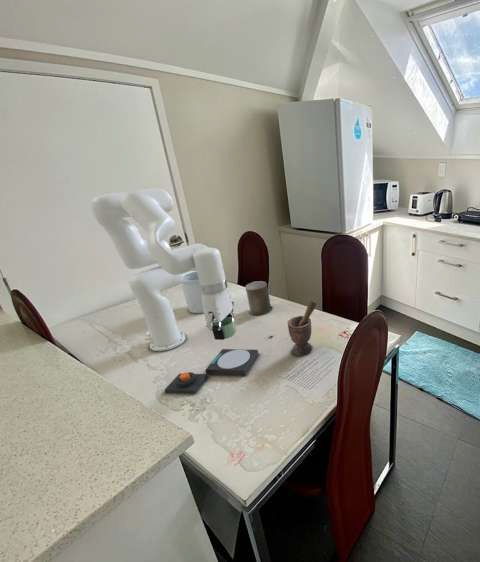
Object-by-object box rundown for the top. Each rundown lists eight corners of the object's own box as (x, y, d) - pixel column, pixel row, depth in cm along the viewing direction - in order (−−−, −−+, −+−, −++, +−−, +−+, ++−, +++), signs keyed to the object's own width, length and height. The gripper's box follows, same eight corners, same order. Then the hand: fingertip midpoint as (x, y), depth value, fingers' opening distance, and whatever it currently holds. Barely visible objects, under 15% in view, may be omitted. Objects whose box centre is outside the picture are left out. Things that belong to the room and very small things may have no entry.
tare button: (178, 381, 103) (177, 377, 103) (184, 375, 106) (182, 372, 105) (187, 381, 103) (185, 378, 102) (192, 376, 106) (190, 372, 105)
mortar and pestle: (307, 337, 130) (302, 295, 122) (323, 344, 126) (319, 300, 118) (287, 352, 121) (280, 307, 113) (303, 359, 117) (297, 313, 109)
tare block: (165, 393, 102) (162, 386, 101) (180, 376, 109) (178, 369, 108) (194, 393, 101) (192, 386, 100) (208, 377, 109) (206, 370, 108)
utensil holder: (211, 297, 166) (203, 267, 159) (226, 304, 158) (219, 273, 151) (182, 308, 156) (173, 276, 149) (197, 317, 147) (188, 283, 140)
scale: (206, 375, 110) (205, 368, 109) (223, 354, 121) (222, 348, 120) (245, 376, 109) (244, 369, 108) (259, 355, 120) (257, 349, 119)
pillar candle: (274, 310, 152) (269, 282, 146) (254, 317, 146) (249, 288, 140) (266, 303, 159) (261, 276, 153) (247, 310, 153) (241, 282, 147)
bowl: (211, 339, 105) (207, 327, 103) (221, 328, 111) (218, 316, 109) (230, 340, 104) (227, 327, 102) (239, 329, 111) (237, 317, 109)
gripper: (216, 275, 109) (227, 319, 116) (186, 298, 93) (200, 347, 100) (237, 275, 108) (246, 320, 115) (211, 298, 92) (223, 348, 99)
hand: (225, 332), depth 107 cm, fingers closed on bowl, 6 cm apart
